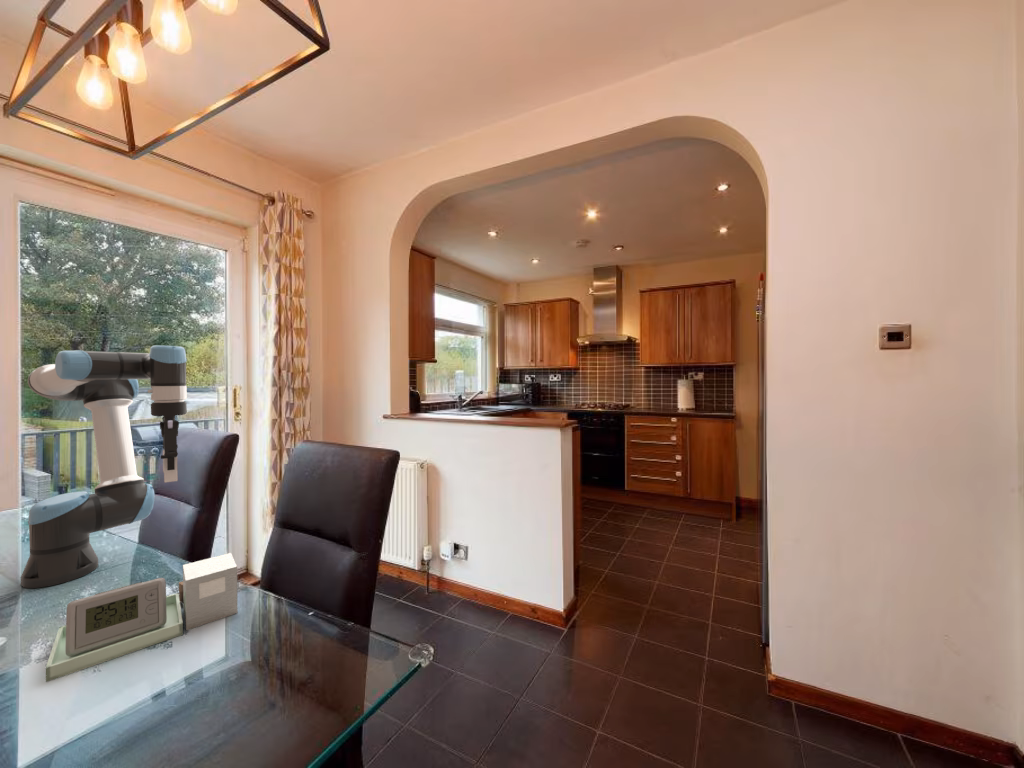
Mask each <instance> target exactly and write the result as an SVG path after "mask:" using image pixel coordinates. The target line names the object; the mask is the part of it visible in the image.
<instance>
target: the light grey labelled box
mask: <svg viewBox="0 0 1024 768" xmlns="http://www.w3.org/2000/svg"><path fill="white" fill-rule="evenodd" d="M182 581H183V603H182V605H183V607H182V608H183V617H184V623H185V624H184V625H185V629H186V630H185V631H189V630H192V629H194V628H198V627H200V626H204V625H206V624H210V623H213V622H216V621H219V620H221V619H224V618H227V617H230V616H233V615H236V614H238V612H239V611H238V608H239V607H238V565H237V564H236V561H235V559H234V556H233V554H232V552H228V553H225V554H221V555H217V556H213V557H208V558H204V559H200V560H197V561H194V562H190V563H185V564H183V565H182ZM235 613H236V614H235Z"/></svg>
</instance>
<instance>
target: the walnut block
mask: <svg viewBox="0 0 1024 768" xmlns="http://www.w3.org/2000/svg"><path fill="white" fill-rule="evenodd" d="M178 593H179V600H180V604H183V580H182V581H180V582H178Z"/></svg>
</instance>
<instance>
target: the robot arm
mask: <svg viewBox="0 0 1024 768" xmlns="http://www.w3.org/2000/svg"><path fill="white" fill-rule="evenodd" d="M186 353H187V352H186V349H185V347H183V346H180V345H179V346H177V345H152V346H151V347H150V350H149V352H127V351H125V352H123V351H96V350H95V351H93V350H90V351H89V350H82V349H76V350H74V349H73V350H62V351H58V353H57V355H56V357H55V360H54V364H53V363H52V364H51V363H50V364H45V365H42V366H39V367H37V368H36V369H33V370H32V372H30V373H29V375H28V377H27V385H28V387H29V389H30V390H32V391H33V392H34V393H35V394H37V395H39V396H41V397H43V398H46V399H50V400H56V401H63V402H64V401H65V402H67V401H68V402H69V401H71V402H72V401H75V402H76V401H82V402H83V407H84V408H85V409H87V410H89V411H90V412H91V417H92V425H93V434H94V441H95V448H96V457H97V464H98V472H99V481H100V482H99V483H98V484H97V485H96V486H95V488H94V493H93V494H90V493H89V492H87V491H83V490H82V491H81V490H80V491H74V492H73V491H72V492H66V493H62V494H58V495H54V496H51V497H48V498H46V499H43V500H40V501H38V502H36V503H35V504H33V505H32V506H31V507H30V509H29V512H28V520H27V524H28V530H29V531H28V534H29V535H28V536H29V558H27V559H28V560H27V562H26V564H25V566H24V569H23V571H22V573H21V575H20V586H21V585H22V586H23V587H22V586H21V587H22V588H26V589H37V588H38V589H40V588H46V587H50V586H56V585H59V584H64V583H67V582H71V581H73V580H77V579H79V578H82V577H83V576H86V575H88V574H90V573H92V572H94V571H95V570H96V569H98V567H99V557H98V555H97V553H96V551H95V549H94V548H93V546H92V544H91V543H90V542H91V541H90V534H92V533H95V532H100V531H104V530H108V529H112V528H117V527H121V526H123V525H124V526H125V525H130V524H132V523H136V522H139V521H143V520H145V519H146V518H148V517H149V516H150V514H151V513H152V511H153V509H154V504H155V489H154V488H153V485H152V484H150V483H145V478H143V477H141V476H139V475H138V471H137V465H136V458H135V451H134V444H133V437H132V431H131V423H130V415H129V409H128V408H129V406H131V404H133V403H134V401H133V399H135V398H137V397H138V395H139V391H140V390H139V388H140V386H139V380H150V389H148V390H147V393H148V394H150V400H152V402H151V403H150V415H151V416H152V417H162V421H159V428H160V434H161V437H162V440H163V441H162V455H160V459H161V460H162V473H163V482H164V484H165V483H174V482H178V481H179V479H178V475H179V473H178V455H179V453H178V447H179V445H178V444H177V443H178V442H177V441H178V440H177V437H178V436H179V428H180V422H179V420H177V419H176V416H184V415H186V414H187V409H188V407H187V402H186V401H185V400H187V398H188V393H187V391H188V390H187V387H188V386H187V361H188V360H187V356H186Z"/></svg>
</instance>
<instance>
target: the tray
mask: <svg viewBox="0 0 1024 768" xmlns="http://www.w3.org/2000/svg"><path fill="white" fill-rule="evenodd" d="M166 612H167V621H166V624H165V625H164V626H162V627H159V628H156V629H153V630H150V631H147V632H146V633H145V634H142V635H139V636H136V637H133V638H130V639H127V640H124V641H121V642H118V643H115V644H112V645H108V646H105V647H102V648H99V649H96V650H93V651H90V650H89V651H86V652H83V653H80V654H77V655H73V656H67V655H66V651H65V649H66V624H65V625H61V626H60V627H58V631H57V633H56V637H55V640H54V642H53V645H52V648H51V651H50V654H49V657H48V659H47V662H46V666H45V668H44V669H45V682H46V683H47V682H49V681H53V680H56V679H59V678H62V677H65V676H68V675H71V674H73V673H76V672H79V671H82V670H84V669H88V668H91V667H94V666H96V665H100V664H102V663H105V662H108V661H110V660H111V661H112V660H113V659H116V658H120V657H123V656H125V655H128V654H131V653H134V652H136V651H139V650H143V649H145V648H148V647H152V646H154V645H157V644H160V643H162V642H166V641H168V640H171V639H174V638H177V637H180V636H183V635H184V633H183V632H184V629H183V626H184V625H183V615H182V614H183V613H182V609H181V602H180V600H179V592H177V593H172V594H169V595H166Z"/></svg>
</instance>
